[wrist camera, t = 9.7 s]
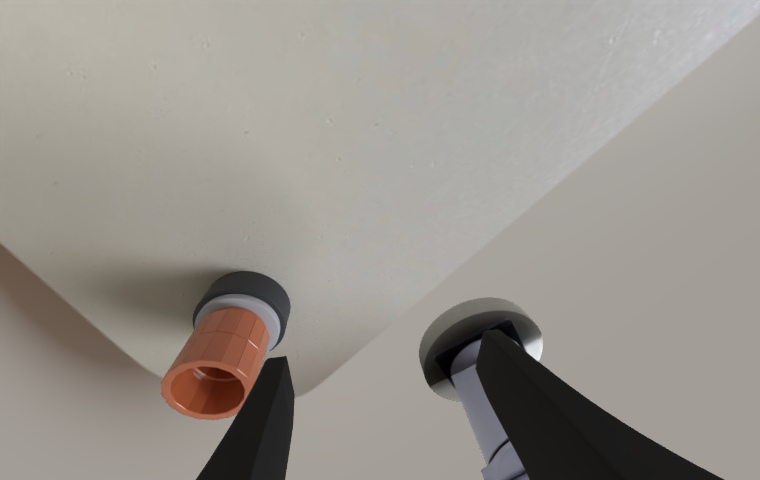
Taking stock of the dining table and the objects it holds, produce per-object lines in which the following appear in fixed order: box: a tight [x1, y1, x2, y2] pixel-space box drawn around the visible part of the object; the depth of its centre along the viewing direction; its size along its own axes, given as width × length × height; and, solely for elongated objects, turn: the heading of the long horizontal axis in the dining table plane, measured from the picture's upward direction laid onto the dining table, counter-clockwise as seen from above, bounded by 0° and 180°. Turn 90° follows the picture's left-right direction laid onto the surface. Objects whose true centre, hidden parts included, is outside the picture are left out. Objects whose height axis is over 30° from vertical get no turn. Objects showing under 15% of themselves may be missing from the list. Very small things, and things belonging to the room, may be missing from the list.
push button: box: [193, 272, 290, 353], centre depth 19 cm, size 5×5×2 cm
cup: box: [161, 307, 270, 420], centre depth 16 cm, size 4×4×4 cm
